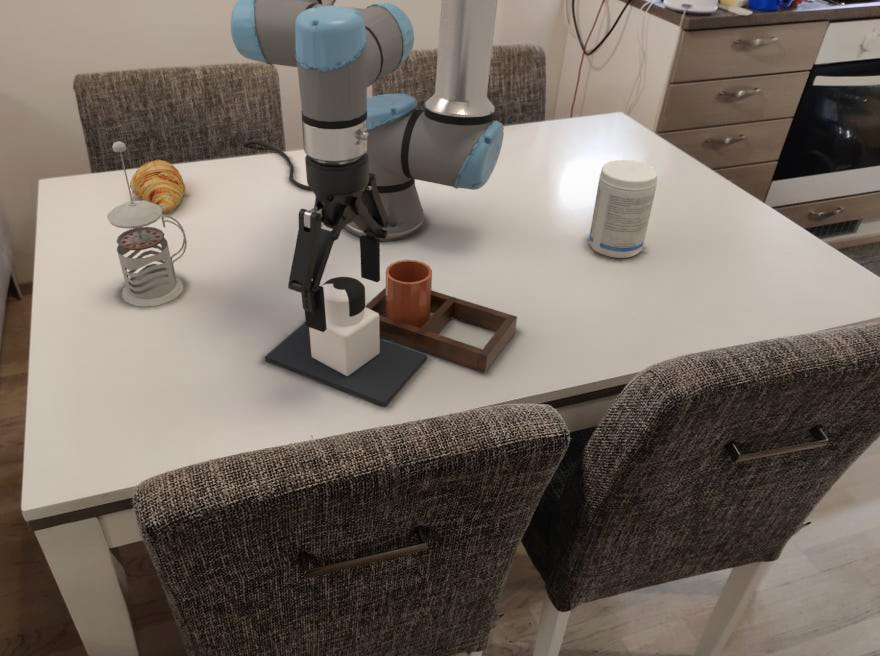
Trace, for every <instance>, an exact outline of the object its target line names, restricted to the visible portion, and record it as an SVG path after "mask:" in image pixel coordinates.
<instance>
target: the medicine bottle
mask: <svg viewBox="0 0 880 656" xmlns="http://www.w3.org/2000/svg"><path fill="white" fill-rule="evenodd" d="M321 286H322V287H323V288H324V301H325V315H326V328H327V329H326V330H325V331H324V332H321V331H318V330H316V329H313V328H310V327H309V332H310V343H311V355H312V358H314V359H316V360H318V361H319V362H321V363H323V364H325V365H327V366H329V367H331V368H332V369H334V370H336V371H338V372H340V373H342V374H343V375H345V376H349V375H351V374H352V373H353V372H355V371H356V370H357V369H359V368H360V367H362V366H363V365H364V364H366V363H367V362H368V361H370V360H371V359H373V358H374V357H375V356H377V355H378V354H379V353H380V339H381V338H380V335H379V314H378V313H377V312H375V311H372V310H370V309H368V308H366V305H367V304H366V286H365V285H364V283H362V282H361V281H360V280H359V279H357V278H354V277H350V276H337V277H333V278H330V279H328V280H326V281H324V283H323V284H322V285H321Z"/></svg>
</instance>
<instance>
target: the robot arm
mask: <svg viewBox="0 0 880 656" xmlns="http://www.w3.org/2000/svg"><path fill="white" fill-rule="evenodd" d="M336 2H337V0H237V2H236V3H235V4H234V7H233V9H232V12H231V15H230V16H231V17H230V36H231V39H232V42H233V44H234V47H235V49H236V50H237V52H238V53H239V55H241V56H242V57H243V58H245V59H248V60H251V61H255V62H259V63H263V64H267V65H276V66H284V67H290V68H297V77H298V86H299V87H298V88H299V95H300V105H301V106H300V107H301V112H300V113H301V128H302V143H303V152H304V153H305V154H306V155H305V158H304V161H305V175H306V183H307V185H306V184H302V183H300V182H299V181H297V180H295V179H294V170H295V167H294V165H293V162H292V161H291V159H290V158H289V156H288V155H287V154H286V153H285V151H282V150H281V149H278V148H276V147H274V146H272V145H270V144H267V143H265V142H261V141H259V140H249V141H247V142H245V143H244V144H243V148H244V147H245V148H247V147H249V146H250V145H257V146H261V147H265V148H267V149H269V150H271V151H273V152H275V153H277V154H279V155H280V156H282V157H283V158H284V159H285V160H286V162H287V164H288V165H289V169H290V170H289V180H290V182H291V183H292V184H293V185H295V186H296V187H299V188H301V189H305V190H308V191H312V192H313V193H314V196H315V198H314V199H315V200H314V206H313V208H311V209H305V208H301V209H300V210H299V211H298V231H297V236H296V241H295V246H294V252H293V258H292V263H291V268H290V273H289V278H288V284H287V288H288V290H291V291H295V292H297V293H300V294H301V303H302V309H303V310H304V317H305V318H304V320H305V322H306V326H307V327H310V328H313V329H316V330H318V331H321V332H324V331H325V330H326V329H327V328H326V315H325V301H324V288H323V287H322V285H320V284H321V282H322V279H323V276H324V272H325V270H326V266H327V263H328V260H329V258H330V255H331V251H332V248H333V245H334V243H335V241H337V240H338V239H339V238H340V236H341V232H342V230H343V229H344V228H345V229H346V230H347V232H348V233H350V234H352V235H354V236H356V237H359V256H360V278H362V279H365V280H368V281H371V282H375V283H379V282H380V281H381V259H380V257H381V256H380V254H381V248H380V247H381V244H380V243H381V242H383V241H384V242H385V241H396V240H402V239H405V238H408V237H411V236H414V235H415V234H417V233H418V232H419V231H420V230H421V229H422V228H423V226H424V218H425V217H424V209H423V205H422V203H421V200H420V197H419V194H418V190H417V187H416V180H417V181H421V182H428V183H432V184H438V185H442V186H446V187H452V188H453V189H465V190H471V191H476V190H479V189H481V188H483V187H484V186H485V185H486V183H487V182H488V181H489V180H490V178H491V176H492V174H493V172H494V170H495V167H496V165H497V162H498V160H499V156H500V153H501V150H502V146H503V141H504V124H503V123H501V122H500V121H499V120H495V111H496V107H495V105H494V104H493V103H492V102H491V100H490V99H489V97H488V91H489V90H488V89H489V83H490V82H489V81H490V72H491V71H490V70H491V62H492V53H493V44H494V35H495V26H496V15H497V8H498V7H497V6H498V0H441V1H440V12H439V13H440V14H439V30H438V42H437V43H438V44H437V55H436V56H437V58H436V71H435V72H436V73H435V86H434V93H433V94H432V95H431V97H430V98H428V99H427V100H426V101H425V102H424V109H420V108H418V106H419V105H418V102H417V101H418V100H417V99H416V98H415V97H414V96H412V95H410V94H407V93H385V94H378V95H374V96H370V97H368V88H369V87H371V86H372V85H373V84H374V83H376V82H377V81H379V80H381V79H382V78H384V77H386V76H387V75H389V74H391V73H392V72H395V71H396V70H398V68H399V67H400V66H401V65H402V64H403V63H404V62H405V61H406V60H407V59H408V58H409V57H410V55H411V53H412V50H413V47H414V43H415V32H414V28H413V24H412V22H411V19H410V18H409V16H408V15H407V14H406V12H405V11H404V10H402V8H400V7H399V6H397V5H396V4H393V3H389V2H380V3H372V4H371V5H368V6H367V7H365V8H360V7H359V8H358V7H351V6H341V5H335V3H336ZM322 227H326V228H328V229H331V230H328V229H325V228H322Z"/></svg>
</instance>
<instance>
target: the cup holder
mask: <svg viewBox="0 0 880 656" xmlns="http://www.w3.org/2000/svg"><path fill="white" fill-rule="evenodd" d="M365 305H366V308H368V309H370V310H372V311H375V312H377V313H378V314H379V335H380V337H381V338H384V339H385V340H386V339H387V340H390V341H393V342H395V343H398V344H401V345H404V346H407V347H410V348H413V349H415V350H418V351H421V352H425V353H427V354H430V355H433V356H436V357H438V358H442V359H444V360H447V361H450V362H453V363H456V364H460V365H462V366H465V367H468V368H470V369H474V370H477V371H478V372H479V371H480V372H483V373H486V372H487V371H488V369H489V368H490V367H491V365H492V364H493V363H494V361H495V360H497V357H498V356H499V355H500V353H501V352H502V351H503V349H504V348H505V347H506V345H508V343H509V342H510V340H511V339H512V337H513V336H514V335H515V334H516V330H517V322H518V316H516V315H514V314H510V313H508V312H507V313H506V312H504V311H501V310H498V309H493V308H490V307H487V306H483V305H480V304H477V303H474V302H470V301H467V300H464V299H462V298H457V297H455V296H451V295H449V294H446V293H442V292H438V291H436V290H432V289H431V312H434V313H433V314H432V315H430V318H429V320H428V321H427V322H426V323H425V324H424V325H423V326H422V327H421V328H417V327H414V326H411V325H408V324H405V323H402V322H399V321H396V320H393V319H390V318H387V317H386V316H385V315H383V314H384V313H386V286H385V287H384V288H383V289H382V290H381V291H380V292H378V294H376V295H375V297H373V298H372V299H371V300H370V301H369V302H367V304H365ZM453 319H456V320H459V321H463V322H465V323H468V324H471V325H475V326H478V327H481V328H484V329H488V330H490V331H494V332H495V333H494V334H493V335H492V337H491V338H490V339H489V341H488V342H486V344H485V345H484V347H483V348H482V347H481V348H480V347H477V346H474V345H472V344H468V343H466V342H462V341H459V340H456V339H453V338H451V337H448V336H445V335H441V334H440V333H441V332H442V331H443V329H444V328H445V327H446V326H447V325H448V324H449V322H450V321H451V320H453Z"/></svg>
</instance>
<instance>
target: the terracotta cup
mask: <svg viewBox="0 0 880 656" xmlns="http://www.w3.org/2000/svg"><path fill="white" fill-rule="evenodd" d="M432 285H433V270H432V268H431V266H430V265H428V264H426V263H425V262H423V261H419V260H416V259H403V260H397V261H394V262H392V263H390V264H389V265H388V266H387V267H386V269H385V287H386V311H385V317H387V318H390V319H393V320H396V321H399V322H402V323H405V324H408V325H411V326H414V327H417V328H421V327H422V326H423V325H424V324H425V323H426V322H427V321H428V320H429V318H430V317H431V312H432V311H431V290H432Z"/></svg>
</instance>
